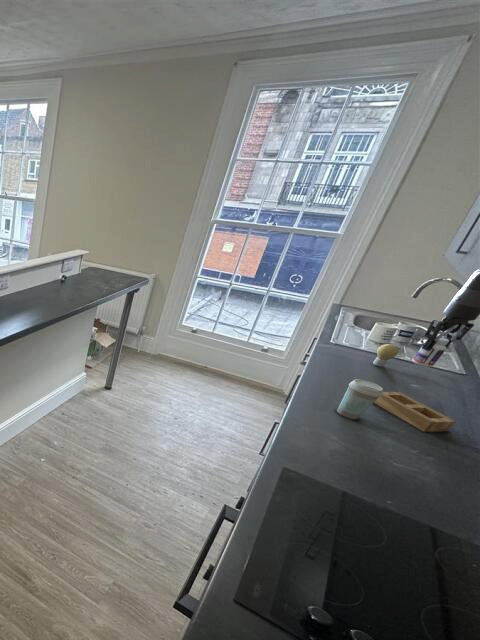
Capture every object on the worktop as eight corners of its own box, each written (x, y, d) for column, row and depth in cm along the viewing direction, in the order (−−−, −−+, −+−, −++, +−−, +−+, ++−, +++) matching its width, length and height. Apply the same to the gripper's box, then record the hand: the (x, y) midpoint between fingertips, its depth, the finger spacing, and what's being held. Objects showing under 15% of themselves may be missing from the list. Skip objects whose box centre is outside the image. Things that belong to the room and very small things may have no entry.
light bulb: (369, 360, 180) (383, 340, 175) (388, 366, 176) (403, 346, 171) (367, 364, 176) (381, 343, 171) (385, 370, 172) (400, 349, 167)
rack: (392, 401, 148) (399, 392, 146) (447, 431, 133) (456, 421, 131) (370, 401, 147) (377, 392, 145) (423, 431, 132) (432, 422, 130)
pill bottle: (429, 363, 141) (448, 338, 136) (434, 369, 137) (455, 343, 132) (409, 358, 143) (427, 333, 138) (414, 364, 139) (433, 338, 134)
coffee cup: (327, 410, 139) (347, 380, 132) (339, 405, 142) (359, 376, 136) (356, 424, 132) (378, 393, 126) (368, 418, 136) (390, 389, 130)
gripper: (464, 306, 124) (427, 354, 133) (501, 308, 126) (462, 355, 135) (437, 297, 130) (403, 344, 139) (473, 299, 132) (437, 345, 141)
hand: (432, 349), depth 137 cm, fingers closed on pill bottle, 5 cm apart
